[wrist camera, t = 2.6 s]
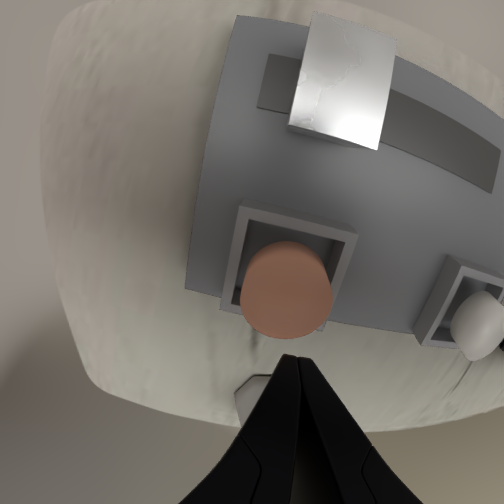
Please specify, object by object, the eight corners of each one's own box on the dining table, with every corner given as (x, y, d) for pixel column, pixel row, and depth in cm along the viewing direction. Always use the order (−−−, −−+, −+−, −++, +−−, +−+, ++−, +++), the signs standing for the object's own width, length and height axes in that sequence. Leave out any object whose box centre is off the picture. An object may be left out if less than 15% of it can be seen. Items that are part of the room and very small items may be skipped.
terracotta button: (336, 251, 12) (345, 272, 10) (311, 318, 13) (315, 345, 11) (255, 232, 12) (250, 250, 10) (239, 303, 13) (232, 328, 11)
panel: (529, 155, 12) (560, 162, 8) (468, 327, 17) (487, 354, 14) (242, 29, 12) (231, 1, 8) (194, 273, 17) (175, 303, 14)
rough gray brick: (368, 62, 10) (396, 39, 6) (350, 147, 11) (376, 150, 8) (305, 43, 10) (313, 11, 6) (285, 130, 11) (288, 124, 8)
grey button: (501, 295, 12) (518, 311, 10) (475, 342, 13) (488, 361, 11) (468, 286, 12) (487, 304, 10) (440, 338, 13) (453, 360, 11)
